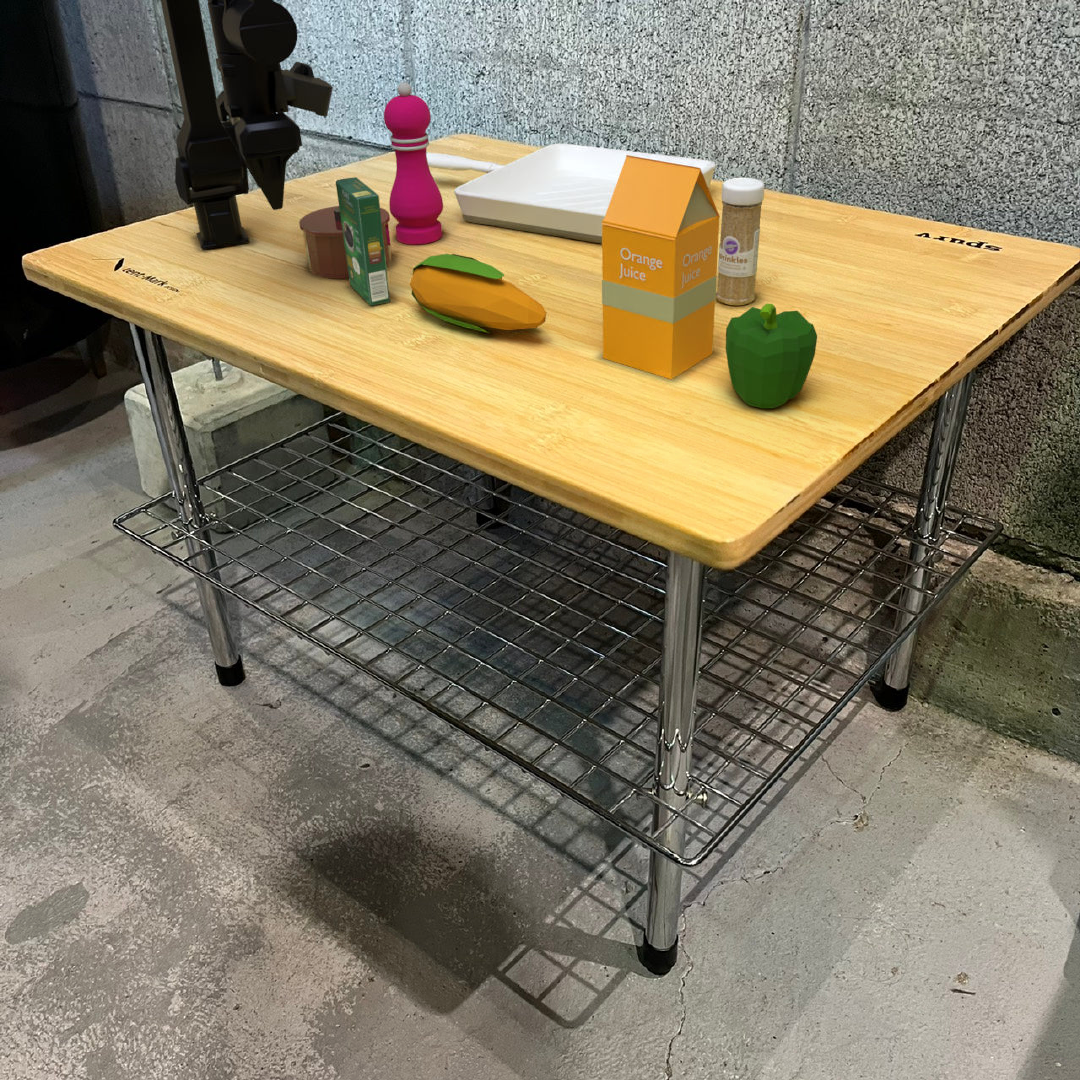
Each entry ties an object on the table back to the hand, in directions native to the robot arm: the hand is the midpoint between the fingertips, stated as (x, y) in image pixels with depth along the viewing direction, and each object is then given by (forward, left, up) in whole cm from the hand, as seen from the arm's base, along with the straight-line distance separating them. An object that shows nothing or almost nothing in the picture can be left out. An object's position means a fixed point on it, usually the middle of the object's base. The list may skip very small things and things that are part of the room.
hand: (270, 197), depth 123 cm
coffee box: (+1, +10, -13) cm, 16 cm away
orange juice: (+33, +33, -13) cm, 48 cm away
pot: (-10, +10, -13) cm, 19 cm away
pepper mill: (-16, +21, -13) cm, 30 cm away
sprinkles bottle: (+23, +48, -13) cm, 55 cm away
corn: (+17, +19, -13) cm, 28 cm away
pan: (-24, +41, -13) cm, 49 cm away
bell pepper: (+46, +38, -13) cm, 61 cm away
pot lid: (-10, +10, -7) cm, 16 cm away
